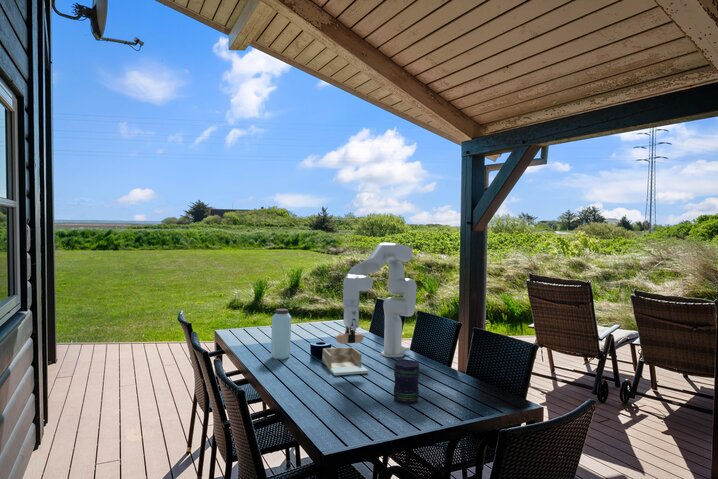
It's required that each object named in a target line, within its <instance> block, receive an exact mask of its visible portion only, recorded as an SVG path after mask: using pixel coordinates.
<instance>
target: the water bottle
mask: <svg viewBox="0 0 718 479" xmlns="http://www.w3.org/2000/svg"><path fill="white" fill-rule="evenodd" d="M291 336H292V315H291V314H290V313H289V309H287V308H276V309H275V313H274V314H273V316H271V337H270V338H271V340H270V342H271V344H270V346H271V347H270V356H271V358H272V359H275V360H287V359H288V358H289V357H290V355H291V343H292V342H291V339H292V338H291Z"/></svg>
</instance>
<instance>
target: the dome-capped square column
mask: <svg viewBox="0 0 718 479" xmlns="http://www.w3.org/2000/svg"><path fill="white" fill-rule="evenodd" d="M348 334H349V333H345V332H344V333H338V335H337V336H336V339H335V340H336V342H337V343H338V344H339V343H340V344H341V345H342V344H343V345H345V344H349V343H348ZM364 339H365V338H364V335H363V334H362V333H360V332H355V343H354V344H357V343H358V344H359V343H360V344H361V343H362V341H364Z"/></svg>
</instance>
